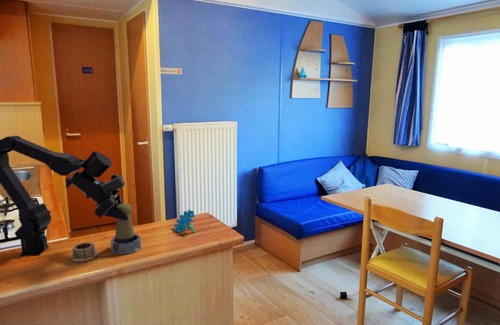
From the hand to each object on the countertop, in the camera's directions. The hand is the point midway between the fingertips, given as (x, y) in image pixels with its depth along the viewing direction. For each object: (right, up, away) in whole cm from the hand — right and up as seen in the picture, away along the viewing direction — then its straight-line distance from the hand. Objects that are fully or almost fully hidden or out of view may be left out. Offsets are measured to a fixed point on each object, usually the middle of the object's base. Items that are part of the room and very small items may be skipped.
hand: (128, 216), depth 117 cm
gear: (+16, -8, +19) cm, 26 cm away
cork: (-1, -7, +1) cm, 7 cm away
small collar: (-13, -12, -5) cm, 18 cm away
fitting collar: (-1, -11, +2) cm, 11 cm away
